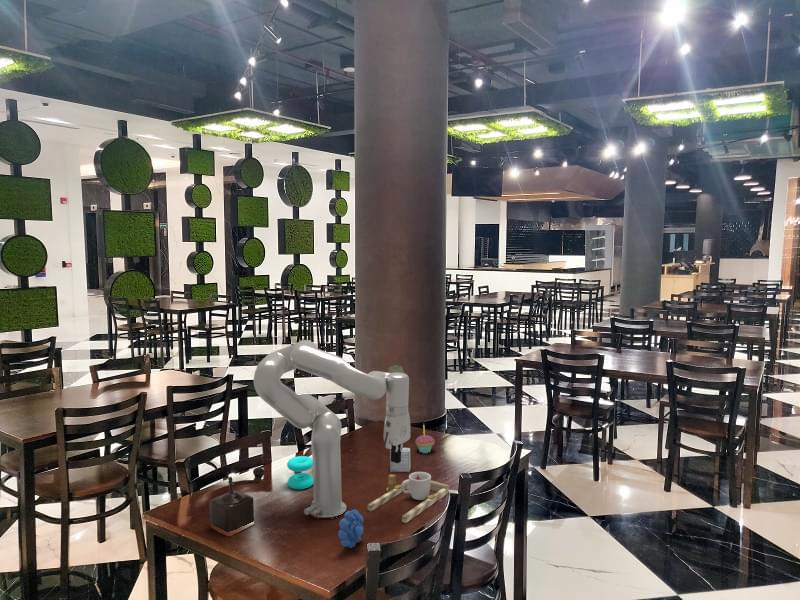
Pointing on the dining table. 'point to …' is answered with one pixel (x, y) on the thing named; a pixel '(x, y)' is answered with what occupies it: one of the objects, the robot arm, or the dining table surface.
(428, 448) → the cupcake
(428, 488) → the cup
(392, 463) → the medicine box
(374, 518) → the dining table surface
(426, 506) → the frame
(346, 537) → the grapes
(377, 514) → the dining table surface
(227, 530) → the manual coffee grinder
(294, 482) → the turquoise double ring spool
